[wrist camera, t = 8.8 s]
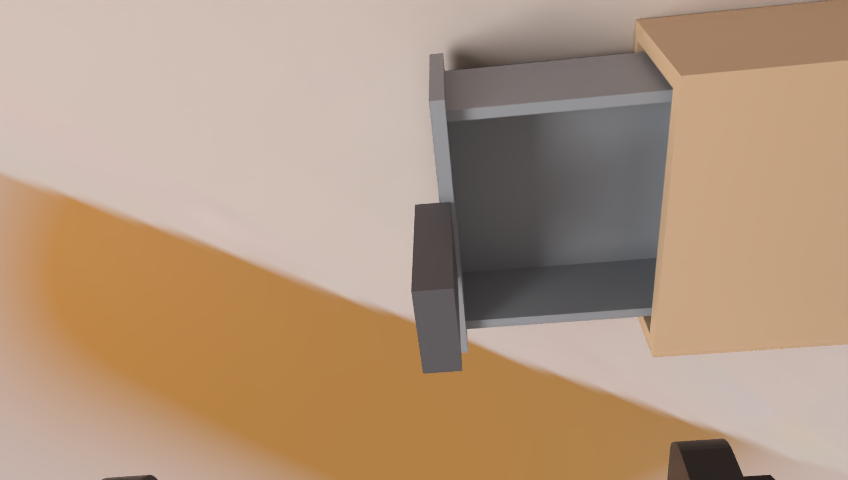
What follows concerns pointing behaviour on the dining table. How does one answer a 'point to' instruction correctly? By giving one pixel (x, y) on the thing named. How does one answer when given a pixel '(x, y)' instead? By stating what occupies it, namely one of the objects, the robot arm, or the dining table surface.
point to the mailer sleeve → (752, 179)
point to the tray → (539, 197)
